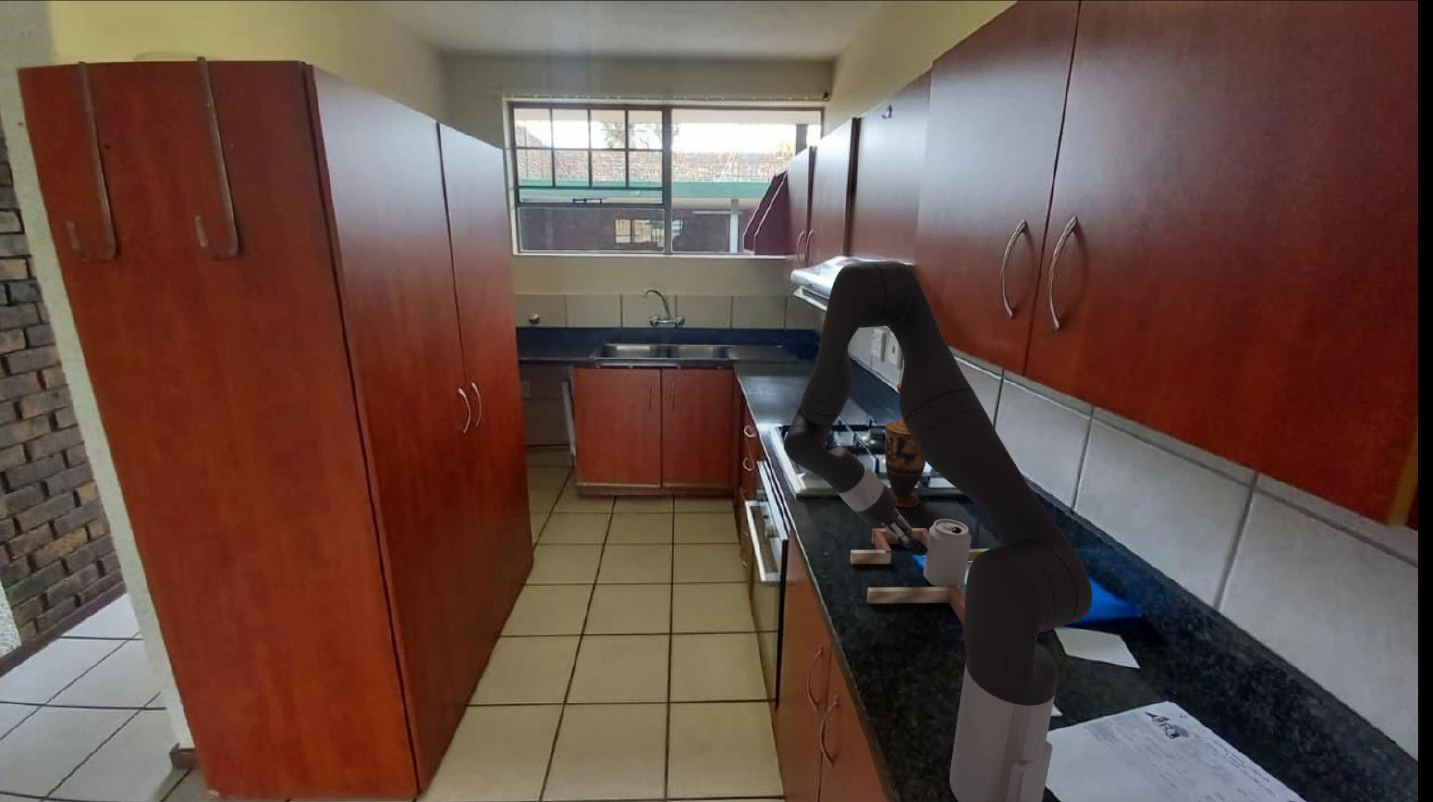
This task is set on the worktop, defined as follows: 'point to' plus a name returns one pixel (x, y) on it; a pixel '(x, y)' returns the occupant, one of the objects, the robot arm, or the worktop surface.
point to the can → (947, 553)
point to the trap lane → (907, 593)
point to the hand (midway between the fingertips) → (923, 551)
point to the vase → (902, 462)
